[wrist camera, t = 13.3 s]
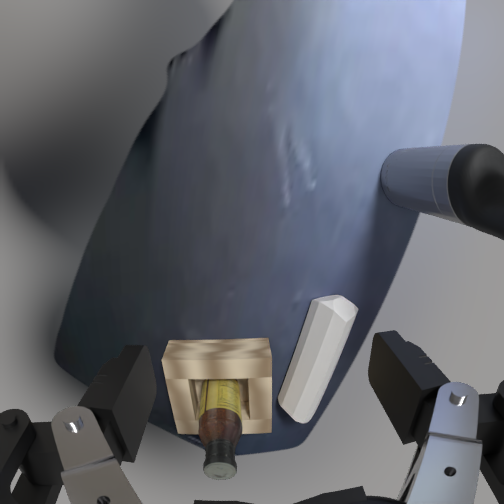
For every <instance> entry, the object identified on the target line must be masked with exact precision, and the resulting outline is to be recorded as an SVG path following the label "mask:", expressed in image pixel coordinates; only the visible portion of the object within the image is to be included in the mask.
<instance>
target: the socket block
mask: <svg viewBox="0 0 504 504" xmlns="http://www.w3.org/2000/svg"><path fill="white" fill-rule="evenodd" d="M162 364H163V369H164V374H165V379H166V384H167V388H168V393H169V397H170V402H171V406H172V410H173V415H174V419H175V423H176V427H177V431H178V434H199V433H198V430H199V412H200V402H201V391H202V385H203V382H204V379H237V381H238V384H239V386H240V399H241V415H242V434H254V433H271V425H272V356H271V351H270V345H269V340H268V338H254V339H228V340H169V342H168V345H167V347H166V350H165V353H164V355H163V358H162Z"/></svg>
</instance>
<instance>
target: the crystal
mask: <svg viewBox="0 0 504 504" xmlns="http://www.w3.org/2000/svg"><path fill="white" fill-rule="evenodd" d="M357 312H358V308H357V307H356V306H355V305H354V304H353V303H351V302H350V301H348V300H347V299H346V298H344V297H343V296H340V295H331V296H325V297H321V298H317V299H314V300H312V302H311V305H310V308H309V311H308V314H307V317H306V320H305V323H304V326H303V329H302V332H301V335H300V338H299V341H298V343H297V346H296V349H295V352H294V355H293V358H292V360H291V363H290V366H289V369H288V372H287V374H286V377H285V380H284V382H283V385H282V388H281V390H280V393H279V396H278V401H279V405H280V406H281V407H282V408H283V409H284V410H285V411H286V412H287V413H288V414H289V415H290V416H291V417H292V418H293V419H294V420H295V421H297V422H300V423H306V422H308V421H309V420H311V418H312V416H313V415H314V413H315V411H316V409H317V407H318V405H319V403H320V401H321V399H322V397H323V394H324V392H325V390H326V388H327V386H328V383H329V381H330V379H331V376H332V374H333V372H334V370H335V367H336V365H337V363H338V360H339V358H340V355H341V353H342V350H343V348H344V346H345V343H346V341H347V338H348V335H349V333H350V330H351V328H352V325H353V323H354V320H355V317H356V315H357Z"/></svg>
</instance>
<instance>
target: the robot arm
mask: <svg viewBox="0 0 504 504" xmlns="http://www.w3.org/2000/svg"><path fill="white" fill-rule="evenodd" d="M381 183H382V187H383V190H384V192H385V194H386V196H387V197H388V198H389V200H390V201H391V202H393V203H394V204H396V205H398V206H400V207H404V208H407V209H411V210H414V211H418V212H422V213H425V214H429V215H433V216H436V217H439V218H443V219H446V220H449V221H453V222H457V223H460V224H463V225H466V226H470V227H473V228H475V229H477V230H479V231H482V232H485V233H487V234H490V235H493V236H495V237H498V238H500V239H502V240H504V154H503V153H502V152H501V151H500V150H498V149H497V148H495V147H493V146H491V145H487V144H467V145H450V146H434V147H420V148H407V149H399V150H396V151H394V152H393V153H391V154H390V155H389V156H388V157H387V159H386V160H385V162H384V164H383V167H382V170H381ZM368 376H369V382H370V384H371V386H372V388H373V389H374V392H375V393H376V395H377V397H378V399H379V401H380V403H381V404H382V406H383V408H384V410H385V412H386V413H387V415H388V417H389V419H390V421H391V423H392V424H393V426H394V428H395V430H396V432H397V434H398V435H399V437H400V439H401V441H402V443H403V445H404V444H407V443H411V442H415V441H416V443H417V444H418V446H417V449H416V451H415V454H414V456H413V459H412V462H411V465H410V468H409V471H408V473H407V476H406V478H405V481H404V483H403V486H402V488H401V491H400V493H399V495H398V497H397V499H396V500H395V499H391V498H387V497H380V496H366V495H365V492H364V489H363V486H360V487H355V488H350V489H345V490H341V491H335V492H329V493H323V494H320V495H318V496H315V497H312V498H309V499H306V500H303V501H300V502H297V503H294V504H473V503H474V498H475V493H476V487H477V482H478V476H479V469H480V470H481V472H482V474H483V476H484V477H485V479H486V481H487V483H488V485H489V486H490V488H491V490H492V492H493V493H494V495H495V497H496V499H497V501H498V503H499V504H504V380H503V381H502V382H501V383H500V385H499V387H498V389H497V392H496V393H492V394H480V395H478V393H477V391H476V390H475V389H474V388H473V387H471V386H469V385H468V384H465V383H461V382H450V381H449V379H448V378H447V377H446V376H445V375H444V374H443V373H442V371H441V370H440V369H439V368H438V367H437V366H436V365H435V364H434V363H432V360H431V359H430V358H429V357H427V356H426V354H425V353H424V351H423V350H422V349H421V348H420V347H418V346H416V345H414V344H413V343H411V342H409V341H407V342H405V340H404V339H403V338H402V337H401V336H400V335H399V334H398V332H397V331H394V330H393V331H387V332H379V333H375V335H374V337H373V342H372V349H371V356H370V362H369V368H368ZM155 397H156V380H155V375H154V371H153V367H152V363H151V358H150V353H149V350H148V347H147V346H145V345H126V346H125V347H124V348H123V350H122V351H121V353H120V355H119V356H118V358H112V359H110V360H109V361H108V362H106V363H105V364H104V365H103V366H102V367H101V369H100V370H99V372H98V373H97V376H96V377H95V378H94V380H93V383H91V384H90V386H89V388H88V389H87V391H86V393H85V394H84V396H83V397H82V399H81V401H80V402H79V404H78V406H73V407H68V408H65V409H63V410H61V411H59V412H58V413H57V414H56V415H55V416H54V417H53V419H52V422H35V423H32V422H31V420H30V419H29V417H28V415H27V413H26V412H24V411H23V410H19V409H10V410H6V411H4V412H2V413H0V504H55V503H56V501H57V498H58V495H59V493H60V490H61V487H62V485H64V486H65V489H66V492H67V495H68V497H69V500H70V502H71V504H142V502H141V501H140V499H139V497H138V496H137V494H136V493H135V491H134V489H133V488H132V486H131V484H130V483H129V481H128V479H127V478H126V476H125V474H124V472H123V471H122V469H121V467H120V465H121V462H122V461H126V462H134V461H135V458H136V455H137V452H138V449H139V446H140V442H141V439H142V436H143V433H144V430H145V427H146V424H147V421H148V418H149V415H150V412H151V409H152V406H153V403H154V400H155ZM18 468H19V469H20V470H21V472H22V474H21V475H20V477H19V479H18V482H17V484H16V486H15V488H14V490H13V492H12V494H11V491H10V485H11V482H12V480H13V478H14V476H15V474H16V472H17V470H18ZM194 504H252V503H245V502H239V501H202V500H195V501H194Z"/></svg>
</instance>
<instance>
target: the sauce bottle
mask: <svg viewBox="0 0 504 504" xmlns="http://www.w3.org/2000/svg"><path fill="white" fill-rule="evenodd" d="M198 433H199V437H200V439H201V442H202V443H203V446H204V447H205V451H206V460H205V462H204V473H205V474H206V475H207V476H208V477H210V478H212V479H216V480H226V479H230V478H232V477H233V476H234V475H235V474H236V472H237V465H236V462H235V448H236V445H237V443H238V441H239V439H240V437H241V434H242V415H241V399H240V386H239V384H238V381H237V379H204V382H203V385H202V391H201V402H200V412H199V430H198Z"/></svg>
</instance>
